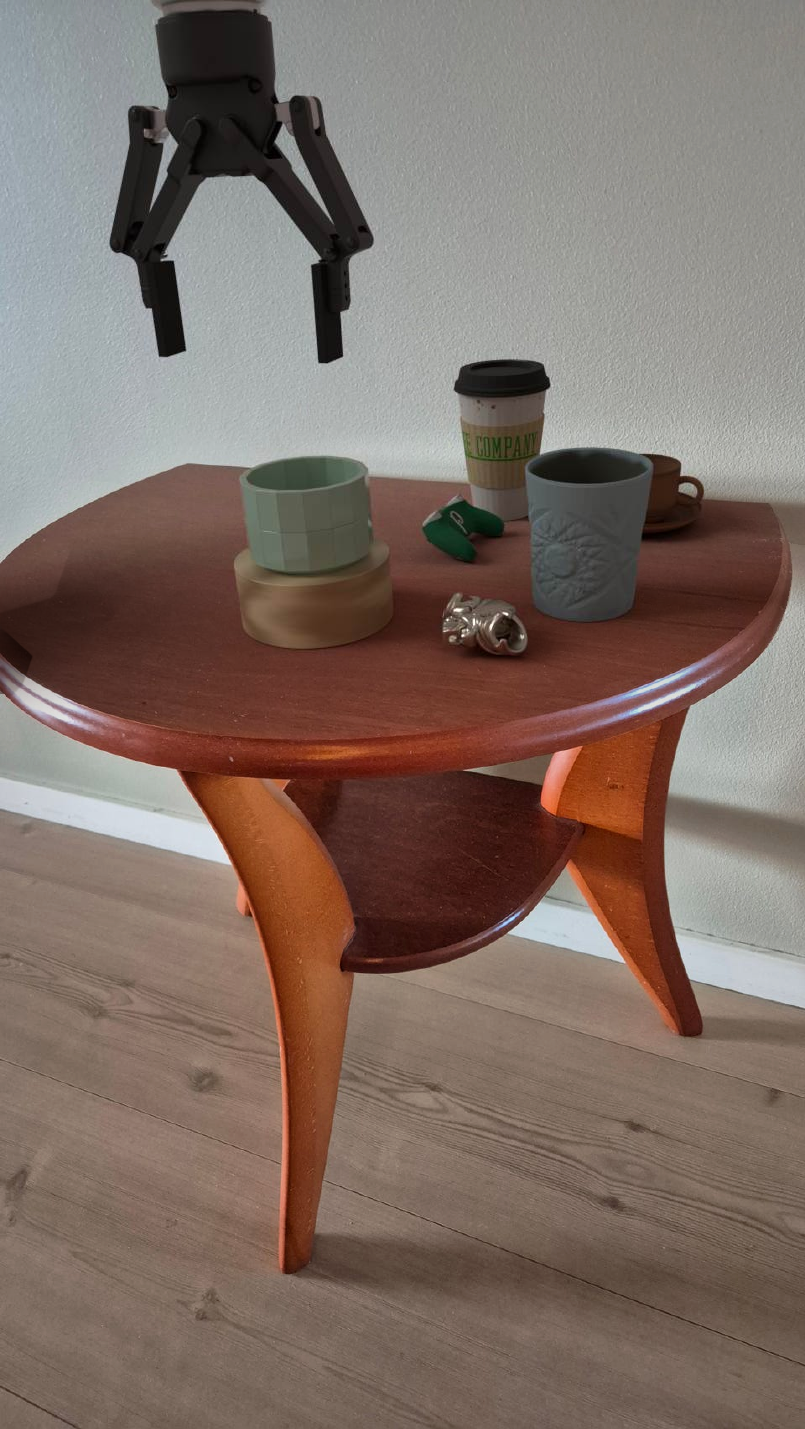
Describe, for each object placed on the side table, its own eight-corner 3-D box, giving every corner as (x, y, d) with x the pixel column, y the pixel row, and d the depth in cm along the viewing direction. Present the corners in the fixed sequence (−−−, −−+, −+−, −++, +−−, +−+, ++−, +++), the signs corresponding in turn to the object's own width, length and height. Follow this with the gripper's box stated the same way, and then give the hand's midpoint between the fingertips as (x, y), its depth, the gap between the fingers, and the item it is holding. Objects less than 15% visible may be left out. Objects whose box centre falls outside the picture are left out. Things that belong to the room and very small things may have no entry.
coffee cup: (439, 518, 106) (434, 373, 99) (486, 493, 113) (484, 355, 106) (520, 532, 101) (521, 380, 94) (564, 504, 108) (568, 361, 100)
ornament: (413, 641, 80) (411, 599, 78) (480, 618, 83) (479, 577, 81) (476, 676, 74) (475, 632, 72) (544, 649, 77) (545, 606, 75)
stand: (215, 615, 86) (205, 556, 84) (337, 576, 93) (332, 519, 90) (294, 664, 77) (287, 599, 75) (424, 616, 84) (421, 555, 81)
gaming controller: (486, 548, 102) (447, 505, 102) (511, 525, 100) (470, 481, 100) (451, 580, 95) (408, 534, 95) (476, 556, 93) (433, 509, 93)
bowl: (228, 556, 83) (216, 474, 80) (328, 527, 89) (321, 449, 85) (293, 589, 76) (283, 501, 73) (397, 555, 82) (392, 471, 78)
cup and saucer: (695, 505, 105) (700, 447, 102) (704, 544, 95) (711, 481, 92) (581, 504, 108) (583, 447, 105) (578, 542, 97) (580, 481, 94)
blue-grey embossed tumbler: (618, 575, 90) (626, 442, 84) (662, 619, 81) (675, 474, 75) (510, 587, 88) (510, 453, 82) (543, 634, 80) (546, 488, 74)
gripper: (413, 2, 63) (421, 353, 73) (90, 33, 71) (139, 343, 82) (365, -11, 57) (382, 373, 67) (19, 24, 65) (82, 360, 76)
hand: (249, 357), depth 75 cm, fingers open, 13 cm apart
